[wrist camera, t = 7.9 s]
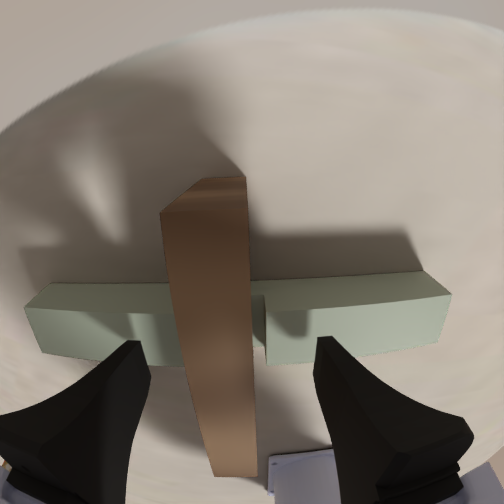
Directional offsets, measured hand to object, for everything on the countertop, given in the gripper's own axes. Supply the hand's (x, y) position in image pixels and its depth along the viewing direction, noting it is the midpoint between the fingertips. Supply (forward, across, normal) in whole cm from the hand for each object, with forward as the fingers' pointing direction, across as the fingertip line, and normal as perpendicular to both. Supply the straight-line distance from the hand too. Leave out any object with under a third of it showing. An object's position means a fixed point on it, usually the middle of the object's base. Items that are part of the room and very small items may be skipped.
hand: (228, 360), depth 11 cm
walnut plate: (+4, 0, -1) cm, 4 cm away
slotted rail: (+4, 0, 0) cm, 4 cm away
